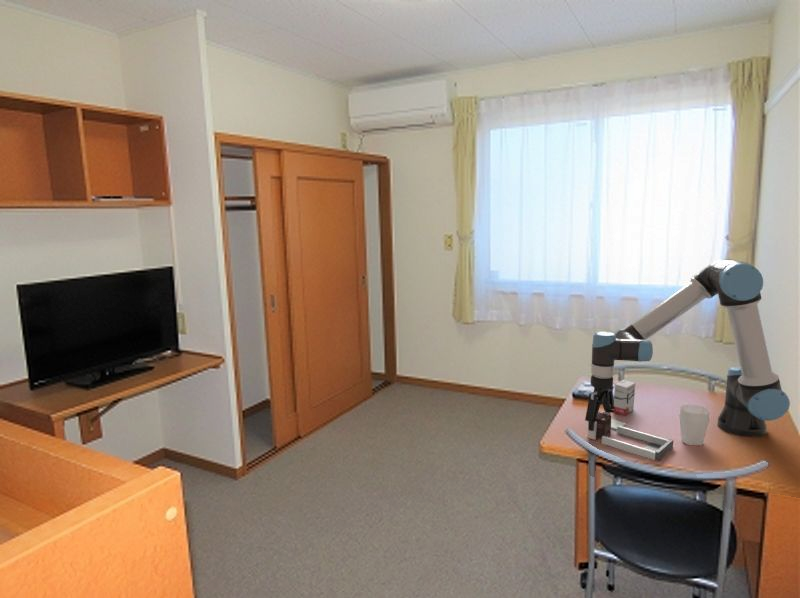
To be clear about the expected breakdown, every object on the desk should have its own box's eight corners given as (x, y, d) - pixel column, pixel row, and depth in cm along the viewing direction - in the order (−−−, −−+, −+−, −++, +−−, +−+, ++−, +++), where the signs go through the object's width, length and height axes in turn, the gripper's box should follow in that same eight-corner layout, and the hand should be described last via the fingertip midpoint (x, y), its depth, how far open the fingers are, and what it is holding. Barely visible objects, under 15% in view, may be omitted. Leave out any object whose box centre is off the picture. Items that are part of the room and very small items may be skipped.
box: (594, 429, 197) (595, 411, 196) (611, 434, 193) (611, 415, 192) (587, 435, 193) (588, 416, 191) (604, 439, 189) (605, 420, 187)
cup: (706, 449, 179) (709, 416, 177) (676, 444, 184) (678, 411, 182) (707, 439, 187) (710, 407, 185) (678, 434, 192) (681, 402, 190)
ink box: (625, 415, 209) (626, 387, 207) (612, 412, 213) (614, 384, 210) (634, 409, 215) (635, 381, 213) (622, 406, 218) (623, 379, 216)
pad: (626, 424, 201) (626, 423, 200) (617, 430, 196) (618, 429, 196) (608, 419, 206) (608, 418, 205) (599, 425, 201) (599, 423, 201)
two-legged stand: (672, 448, 181) (673, 439, 181) (657, 461, 172) (658, 452, 172) (618, 431, 195) (618, 424, 194) (601, 443, 186) (602, 435, 185)
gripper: (606, 365, 200) (603, 421, 204) (576, 380, 184) (573, 440, 188) (626, 370, 194) (622, 427, 198) (597, 385, 179) (593, 447, 183)
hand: (598, 433), depth 193 cm, fingers open, 10 cm apart
